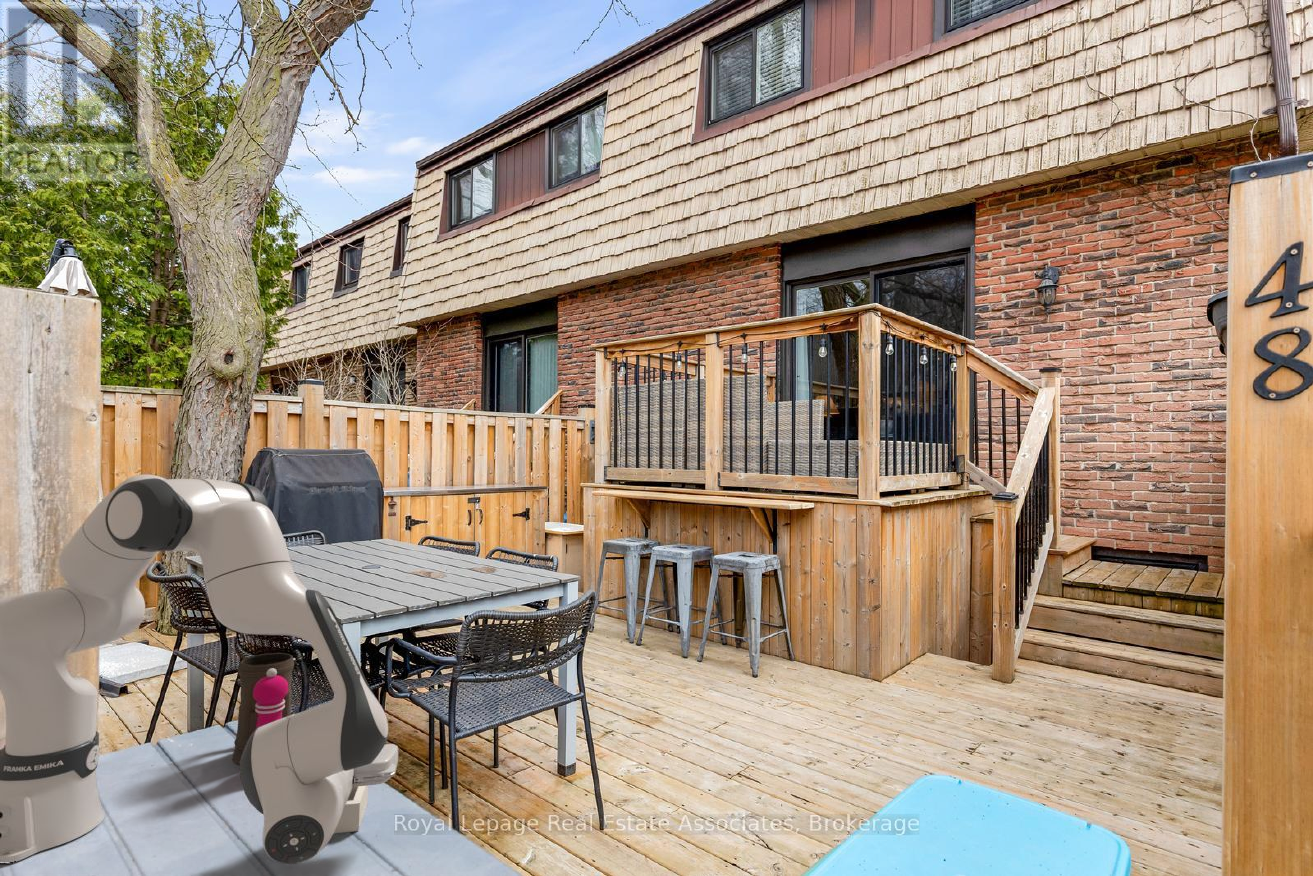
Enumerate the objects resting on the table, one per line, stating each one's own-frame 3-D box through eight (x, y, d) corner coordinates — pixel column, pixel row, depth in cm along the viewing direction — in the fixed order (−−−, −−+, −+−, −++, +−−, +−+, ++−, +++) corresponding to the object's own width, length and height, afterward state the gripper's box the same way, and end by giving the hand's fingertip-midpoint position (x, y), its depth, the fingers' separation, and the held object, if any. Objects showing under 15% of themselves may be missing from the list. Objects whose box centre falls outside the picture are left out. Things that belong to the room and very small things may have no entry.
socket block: (299, 837, 110) (300, 809, 110) (312, 809, 118) (313, 783, 118) (358, 830, 112) (359, 803, 112) (367, 804, 121) (368, 778, 121)
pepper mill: (269, 783, 127) (273, 675, 128) (236, 779, 129) (241, 672, 129) (297, 766, 134) (301, 664, 135) (265, 762, 136) (269, 661, 136)
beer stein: (301, 756, 139) (303, 656, 140) (242, 772, 131) (245, 666, 133) (276, 738, 149) (278, 646, 151) (220, 753, 141) (222, 655, 143)
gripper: (394, 757, 106) (404, 723, 119) (248, 770, 100) (275, 733, 114) (393, 798, 105) (403, 760, 119) (246, 813, 100) (273, 771, 114)
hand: (339, 747), depth 116 cm, fingers closed on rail, 4 cm apart
